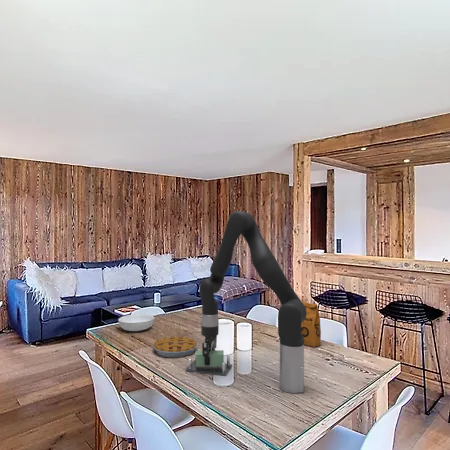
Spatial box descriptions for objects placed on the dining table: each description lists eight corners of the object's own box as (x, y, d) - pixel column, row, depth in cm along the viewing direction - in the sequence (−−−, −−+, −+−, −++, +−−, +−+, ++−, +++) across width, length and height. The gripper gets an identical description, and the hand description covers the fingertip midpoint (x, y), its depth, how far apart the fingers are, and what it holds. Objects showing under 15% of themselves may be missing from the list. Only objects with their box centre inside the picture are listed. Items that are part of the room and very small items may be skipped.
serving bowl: (138, 322, 229) (138, 312, 229) (161, 328, 216) (161, 317, 216) (110, 330, 212) (111, 318, 212) (134, 336, 199) (134, 324, 199)
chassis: (232, 366, 158) (232, 355, 158) (226, 376, 148) (226, 364, 148) (194, 362, 163) (194, 351, 163) (185, 371, 152) (185, 360, 152)
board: (223, 361, 158) (223, 350, 158) (223, 366, 153) (223, 354, 153) (196, 361, 158) (196, 350, 158) (195, 366, 152) (195, 354, 152)
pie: (153, 360, 165) (153, 349, 165) (153, 345, 186) (153, 335, 186) (200, 357, 169) (200, 347, 169) (194, 343, 190) (194, 333, 190)
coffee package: (313, 349, 182) (314, 306, 182) (293, 343, 191) (294, 302, 191) (323, 345, 189) (324, 303, 189) (304, 339, 198) (304, 299, 198)
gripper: (213, 329, 147) (213, 369, 147) (222, 320, 161) (222, 357, 161) (196, 327, 149) (195, 367, 149) (206, 319, 163) (206, 355, 163)
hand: (209, 362), depth 155 cm, fingers closed on board, 6 cm apart
